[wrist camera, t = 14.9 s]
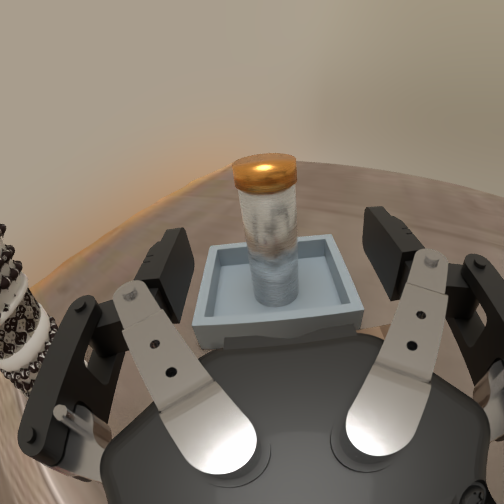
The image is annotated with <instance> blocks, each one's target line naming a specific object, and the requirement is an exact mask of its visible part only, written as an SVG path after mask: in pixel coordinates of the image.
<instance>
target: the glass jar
mask: <svg viewBox="0 0 504 504" xmlns="http://www.w3.org/2000/svg"><path fill="white" fill-rule="evenodd" d="M232 169H233V175H234V182H235V187H236V188H237V189H238V192H239V199H240V206H241V212H242V219H243V225H244V232H245V239H246V245H247V252H248V258H249V265H250V271H251V278H252V284H253V291H254V296H255V299H256V300H257V301H258V302H259V303H260V304H262V305H264V306H267V307H282V306H286V305H288V304H290V303H292V302H293V301H294V300H295V299H296V298H297V296H298V293H299V273H298V237H297V213H296V194H295V183H296V182H297V170H296V158H295V157H294V156H292V155H287V154H280V153H269V154H258V155H252V156H248V157H244V158H241V159H238V160H236V161H235V162H233V163H232Z"/></svg>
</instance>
